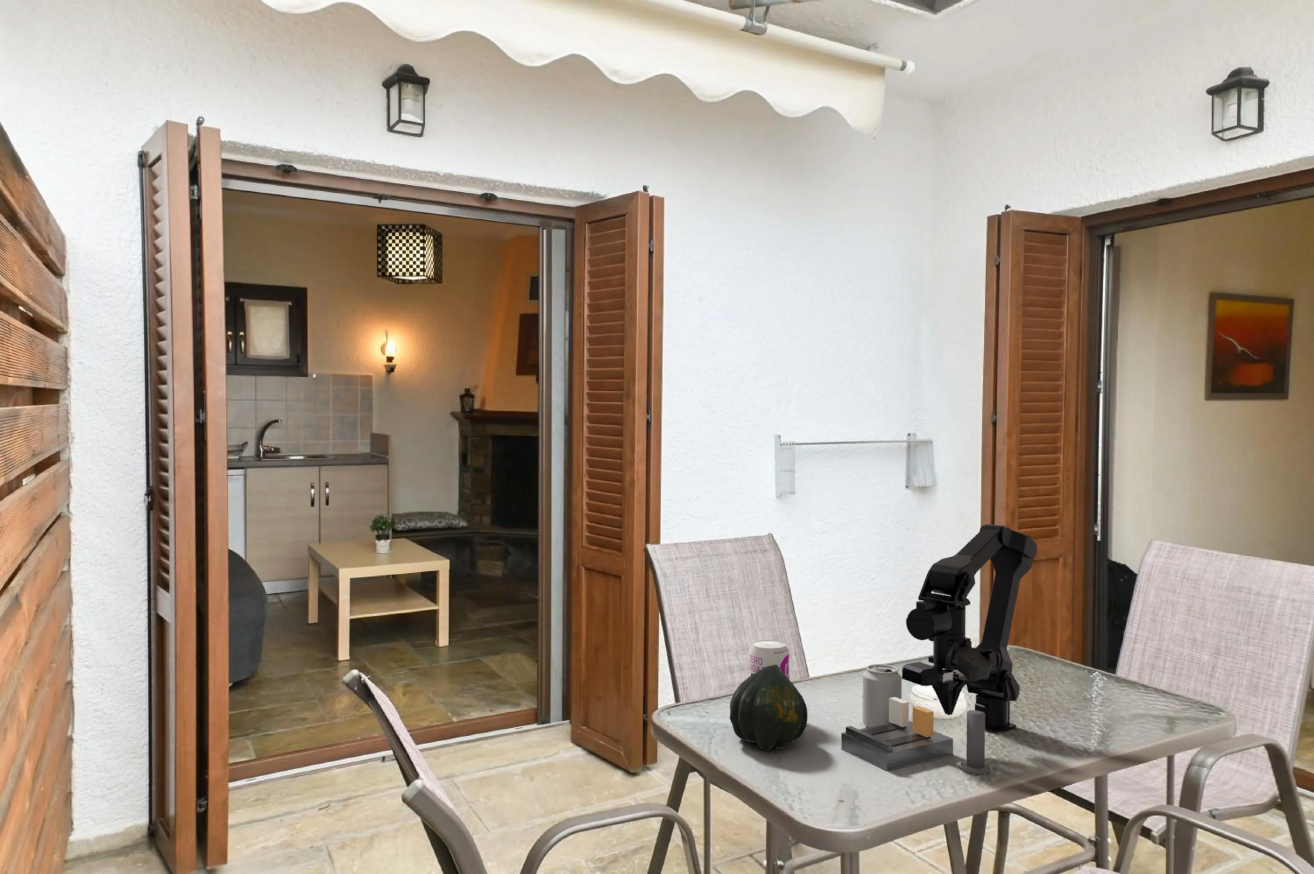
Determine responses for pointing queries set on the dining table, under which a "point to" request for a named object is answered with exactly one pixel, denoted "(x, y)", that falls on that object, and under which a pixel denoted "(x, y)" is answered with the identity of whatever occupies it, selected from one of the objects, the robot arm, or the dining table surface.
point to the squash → (768, 709)
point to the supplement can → (768, 656)
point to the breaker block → (894, 745)
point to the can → (879, 693)
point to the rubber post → (975, 745)
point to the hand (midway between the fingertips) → (948, 714)
